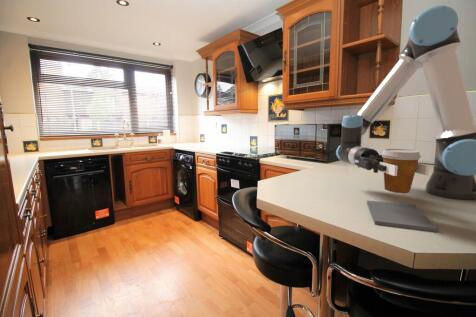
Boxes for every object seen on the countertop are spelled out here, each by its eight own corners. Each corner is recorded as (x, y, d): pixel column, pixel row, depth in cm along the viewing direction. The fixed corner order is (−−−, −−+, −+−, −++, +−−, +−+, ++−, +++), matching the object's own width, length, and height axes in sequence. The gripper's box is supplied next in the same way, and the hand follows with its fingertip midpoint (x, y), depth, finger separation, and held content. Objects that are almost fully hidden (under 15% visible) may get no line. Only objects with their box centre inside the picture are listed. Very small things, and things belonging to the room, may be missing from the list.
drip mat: (415, 207, 77) (415, 205, 77) (436, 231, 61) (437, 228, 60) (366, 203, 82) (366, 200, 82) (374, 224, 66) (374, 220, 66)
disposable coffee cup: (409, 187, 73) (414, 148, 71) (422, 196, 65) (427, 153, 63) (375, 184, 76) (378, 148, 75) (382, 193, 68) (386, 152, 66)
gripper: (390, 167, 88) (446, 182, 66) (335, 168, 87) (373, 184, 65) (392, 147, 87) (450, 156, 65) (336, 148, 86) (375, 158, 64)
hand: (411, 170), depth 65 cm, fingers closed on disposable coffee cup, 8 cm apart
